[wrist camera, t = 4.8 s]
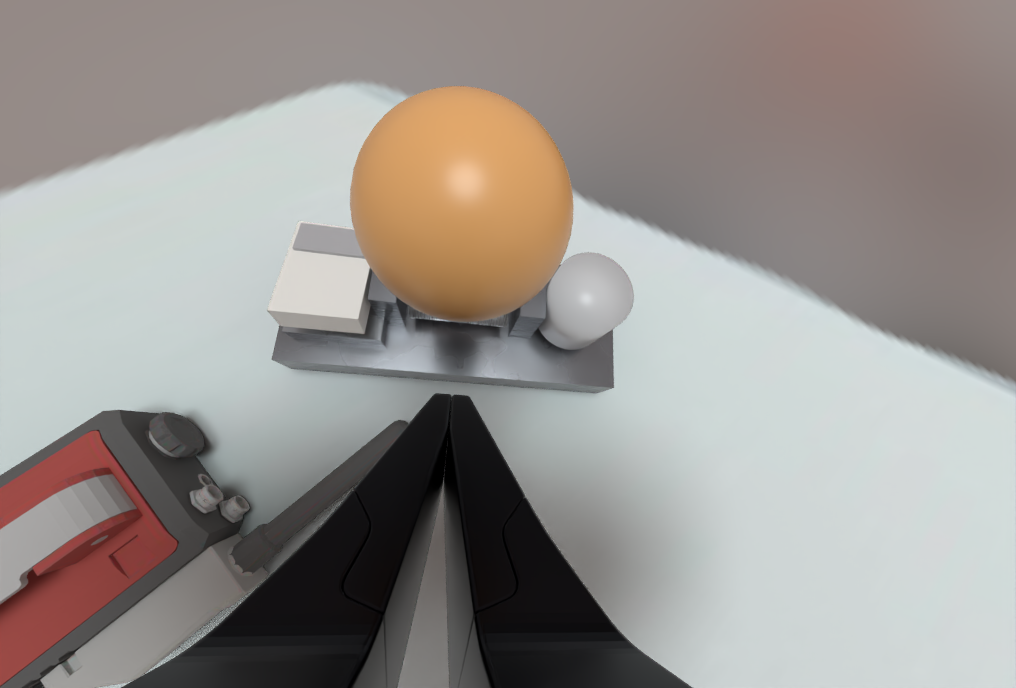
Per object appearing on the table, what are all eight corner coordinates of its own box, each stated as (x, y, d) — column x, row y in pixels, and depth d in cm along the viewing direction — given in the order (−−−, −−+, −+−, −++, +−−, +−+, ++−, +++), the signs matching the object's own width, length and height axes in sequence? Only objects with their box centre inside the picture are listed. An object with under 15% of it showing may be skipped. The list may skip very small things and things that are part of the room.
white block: (364, 334, 14) (357, 317, 13) (280, 325, 14) (264, 308, 12) (382, 250, 16) (377, 228, 15) (308, 241, 15) (296, 218, 14)
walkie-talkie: (-64, 859, 12) (425, 442, 18) (-340, 1086, 8) (419, 443, 13) (-193, 638, 13) (315, 307, 18) (-507, 736, 9) (276, 267, 14)
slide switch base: (597, 393, 19) (646, 377, 14) (291, 368, 17) (230, 341, 12) (596, 286, 21) (640, 241, 16) (316, 253, 19) (270, 189, 14)
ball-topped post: (501, 338, 17) (640, 332, 4) (411, 330, 16) (238, 290, 3) (507, 273, 17) (667, 57, 4) (418, 263, 16) (269, -29, 3)
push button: (602, 353, 17) (634, 334, 14) (534, 346, 16) (552, 326, 13) (602, 287, 17) (632, 257, 15) (536, 279, 17) (554, 247, 14)
